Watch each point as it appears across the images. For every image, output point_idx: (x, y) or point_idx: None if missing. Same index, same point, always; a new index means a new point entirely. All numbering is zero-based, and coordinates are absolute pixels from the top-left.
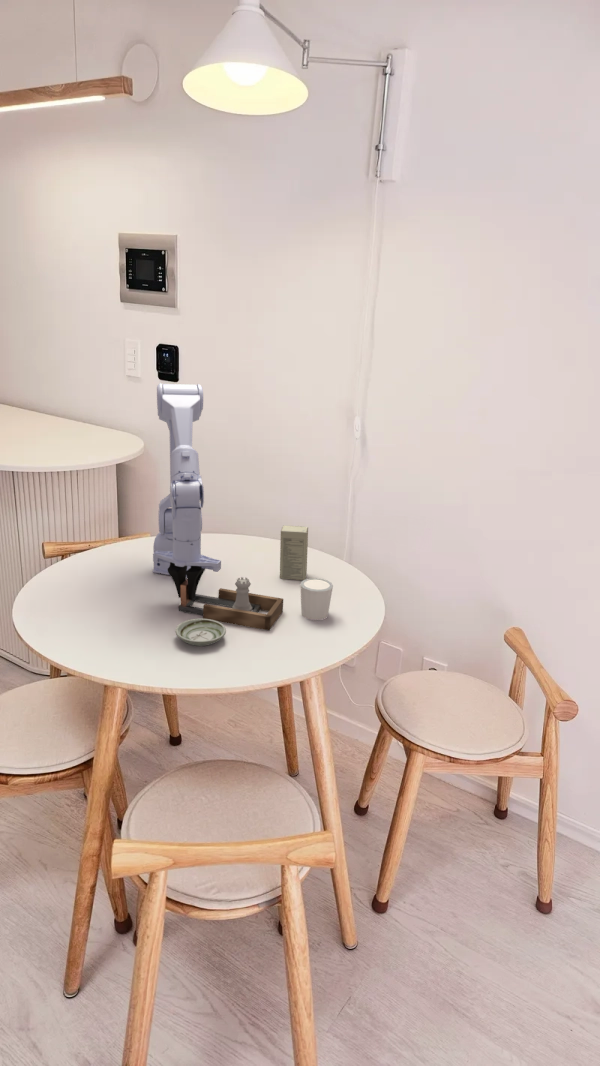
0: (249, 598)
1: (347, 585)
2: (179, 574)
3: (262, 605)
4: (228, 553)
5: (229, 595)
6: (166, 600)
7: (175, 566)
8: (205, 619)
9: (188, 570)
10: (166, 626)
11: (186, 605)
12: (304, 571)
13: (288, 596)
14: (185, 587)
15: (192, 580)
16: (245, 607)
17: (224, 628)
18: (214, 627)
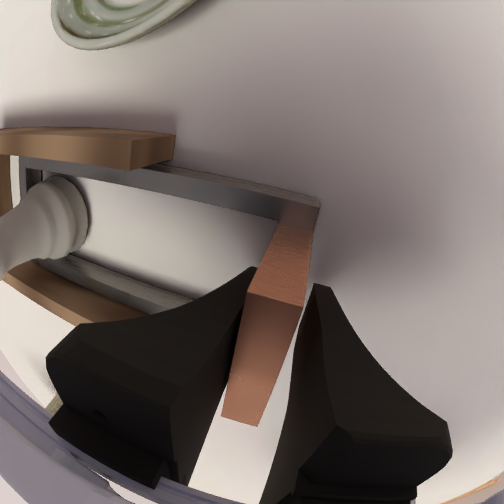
0: (43, 283)
1: (14, 358)
2: (313, 414)
3: (29, 260)
4: (240, 497)
5: (101, 311)
6: (394, 314)
7: (355, 498)
8: (116, 34)
9: (155, 429)
10: (342, 20)
11: (274, 218)
12: (50, 404)
13: (41, 332)
14: (254, 281)
15: (162, 324)
16: (20, 200)
17: (52, 10)
18: (95, 27)
